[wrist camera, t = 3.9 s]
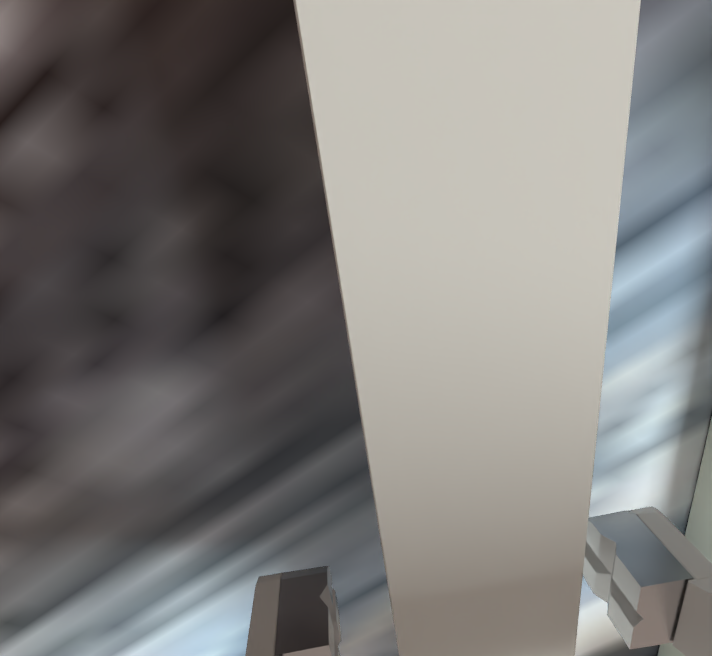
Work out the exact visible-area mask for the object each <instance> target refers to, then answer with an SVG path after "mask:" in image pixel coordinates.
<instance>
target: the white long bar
mask: <svg viewBox="0 0 712 656" xmlns="http://www.w3.org/2000/svg"><path fill="white" fill-rule="evenodd" d="M293 2H294V8H295V14H296V20H297V27H298V33H299V39H300V45H301V51H302V58H303V64H304V70H305V76H306V82H307V88H308V95H309V101H310V107H311V113H312V119H313V126H314V132H315V138H316V144H317V150H318V157H319V163H320V169H321V175H322V181H323V188H324V194H325V200H326V206H327V212H328V218H329V225H330V231H331V237H332V243H333V249H334V256H335V262H336V268H337V274H338V280H339V287H340V293H341V299H342V305H343V311H344V318H345V324H346V330H347V336H348V342H349V349H350V355H351V361H352V367H353V373H354V379H355V386H356V392H357V398H358V404H359V410H360V417H361V423H362V429H363V435H364V441H365V448H366V454H367V460H368V466H369V472H370V479H371V485H372V491H373V497H374V503H375V510H376V516H377V522H378V528H379V534H380V540H381V547H382V553H383V559H384V565H385V571H386V578H387V584H388V590H389V596H390V602H391V609H392V615H393V621H394V627H395V633H396V640H397V646H398V652H399V656H574V655H575V645H576V635H577V626H578V616H579V606H580V596H581V586H582V576H583V566H584V556H585V546H586V537H587V527H588V517H589V507H590V497H591V487H592V477H593V467H594V457H595V447H596V438H597V428H598V418H599V408H600V398H601V388H602V378H603V368H604V358H605V349H606V339H607V329H608V319H609V309H610V299H611V289H612V279H613V269H614V260H615V250H616V240H617V230H618V220H619V210H620V200H621V190H622V180H623V171H624V161H625V151H626V141H627V131H628V121H629V111H630V101H631V91H632V82H633V72H634V62H635V52H636V42H637V32H638V22H639V12H640V2H641V0H293Z"/></svg>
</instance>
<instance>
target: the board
mask: <svg viewBox="0 0 712 656" xmlns="http://www.w3.org/2000/svg"><path fill="white" fill-rule="evenodd" d="M685 537H686V538H687V539H688V540H689V541H690V542H691V543H692V544H693V545H694V546H695V547H696V548H697V549H698V550H699V551H700V552H701V553H702V554H703V555H704V556H705V557H706V558H707V559H708V560H709V561H710V562H711V563H712V418H711V423H710V427H709V432H708V436H707V440H706V445H705V449H704V454H703V458H702V462H701V467H700V471H699V476H698V480H697V484H696V489H695V493H694V498H693V502H692V506H691V511H690V515H689V520H688V524H687V528H686V533H685ZM672 645H673V643H668V644H661V645H660V647H659V652H658V656H685V655H684V654H683V653H682V652H680V651H679V650H678V649H676V648H675V647H674V646H672Z"/></svg>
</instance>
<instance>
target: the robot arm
mask: <svg viewBox="0 0 712 656" xmlns="http://www.w3.org/2000/svg"><path fill="white" fill-rule="evenodd" d="M583 576H584V578H585V580H586V582H587V584H588V585H589V587H590V588H591V590H592V592H593V593H594V594H595V595H597V596H598V597H600V598H601V599H603V600H604V601H606V602H607V603H608V614H607V615H608V617H609V618H610V620H611V621H612V623H613V624H614V626H615V627H616V629H617V631H618V632H619V634H620V635H621V637H622V638H623V640H624V641H625V643H626V644H627V646H628V647H629V649H636V648H642V647H648V646H655V645H661V644H668V643H673V645H672V646H674V647H675V648H676V649H678V650H679V651H680V652H682V653H683V654H684V655H685V656H712V563H711V562H710V561H709V560H708V559H707V558H706V557H705V556H704V555H703V554H702V553H701V552H700V551H699V550H698V549H697V548H696V547H695V546H694V545H693V544H692V543H691V542H690V541H689V540H688V539H687V538H686V537H685V536H684V535H683V534H682V533H681V532H680V531H679V530H678V529H677V528H676V527H675V526H674V525H673V524H672V523H671V522H670V521H669V520H668V519H667V518H666V517H665V516H664V515H663V514H662V513H661V512H660V511H659V510H658V509H656V508H654V507H645V508H640V509H635V510H630V511H621V512H616V513H611V514H606V515H601V516H595V517H590V518H588V527H587V537H586V546H585V556H584V566H583ZM340 642H341V629H340V618H339V609H338V602H337V597H336V592H335V590H334V589H332V575H331V571H330V568H329V566H324V567H317V568H311V569H304V570H297V571H291V572H284V573H278V574H272V575H266V576H260V577H259V578H258V581H257V583H256V587H255V594H254V601H253V608H252V615H251V621H250V628H249V635H248V642H247V649H246V656H340V652H339V648H338V646H339V644H340Z"/></svg>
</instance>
